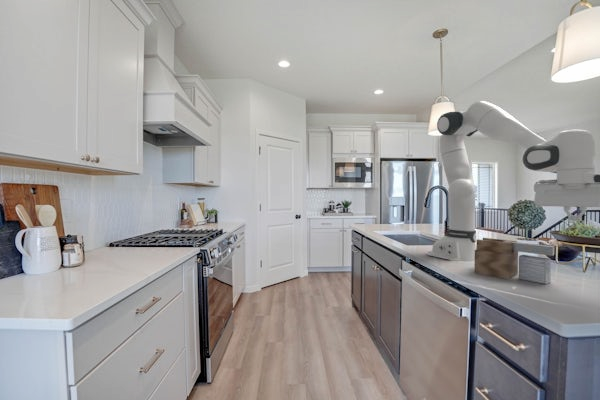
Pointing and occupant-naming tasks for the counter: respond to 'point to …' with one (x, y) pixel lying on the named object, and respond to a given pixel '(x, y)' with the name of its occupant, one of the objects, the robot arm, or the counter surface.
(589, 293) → the counter surface
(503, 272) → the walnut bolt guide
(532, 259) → the medicine box
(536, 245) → the grey square bar
